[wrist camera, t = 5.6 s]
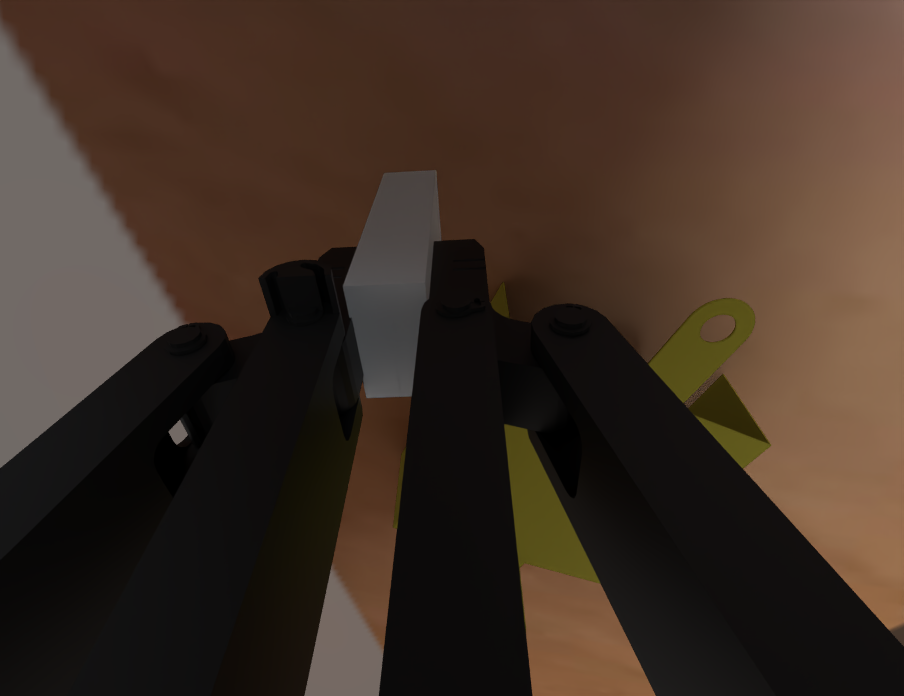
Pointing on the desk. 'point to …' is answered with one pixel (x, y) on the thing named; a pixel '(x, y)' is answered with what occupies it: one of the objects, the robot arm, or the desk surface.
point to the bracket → (683, 370)
